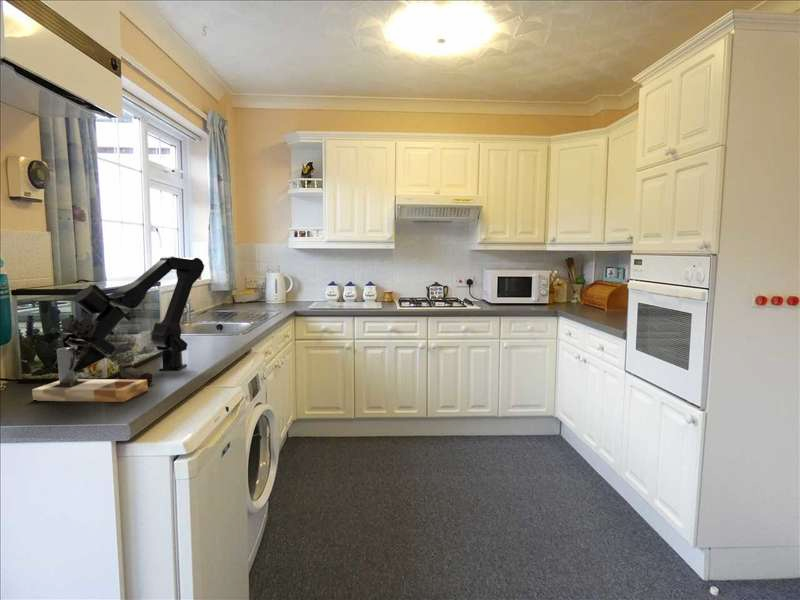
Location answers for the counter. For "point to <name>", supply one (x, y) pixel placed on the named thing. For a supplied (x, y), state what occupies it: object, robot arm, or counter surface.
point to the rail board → (92, 390)
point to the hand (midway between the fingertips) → (64, 369)
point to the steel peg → (67, 367)
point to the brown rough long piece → (134, 373)
